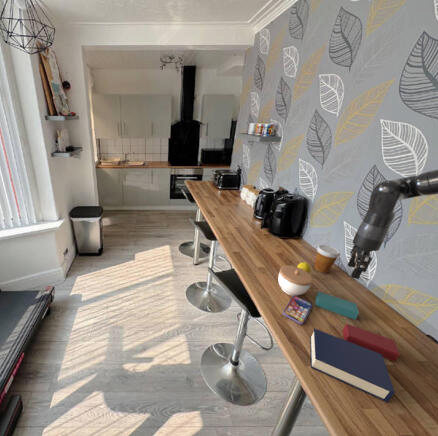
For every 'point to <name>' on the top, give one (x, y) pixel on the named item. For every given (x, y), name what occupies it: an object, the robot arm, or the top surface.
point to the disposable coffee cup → (325, 258)
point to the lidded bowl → (294, 280)
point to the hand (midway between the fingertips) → (352, 271)
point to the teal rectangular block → (336, 305)
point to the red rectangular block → (371, 341)
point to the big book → (351, 364)
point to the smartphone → (298, 309)
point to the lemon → (304, 266)
